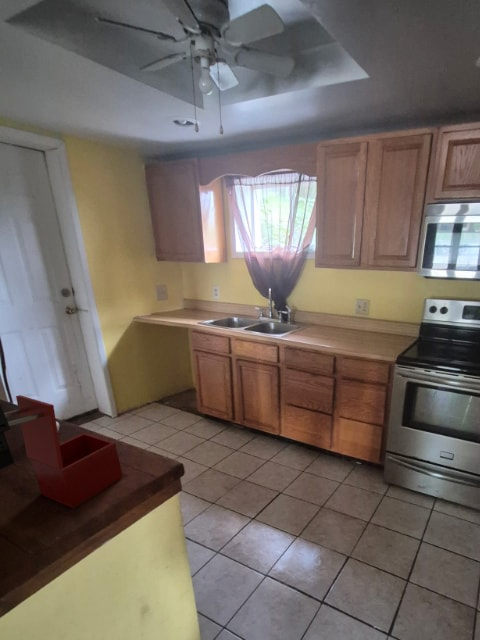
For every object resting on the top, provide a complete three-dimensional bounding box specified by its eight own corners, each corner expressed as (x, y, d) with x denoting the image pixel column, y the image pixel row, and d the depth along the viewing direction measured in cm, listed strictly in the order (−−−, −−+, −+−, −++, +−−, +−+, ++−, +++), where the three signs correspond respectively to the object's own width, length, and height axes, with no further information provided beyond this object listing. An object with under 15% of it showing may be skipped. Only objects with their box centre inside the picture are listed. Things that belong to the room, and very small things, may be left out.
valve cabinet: (93, 467, 91) (84, 432, 87) (123, 478, 87) (115, 442, 83) (42, 496, 81) (29, 458, 77) (73, 510, 77) (61, 470, 73)
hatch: (20, 395, 73) (-41, 408, 64) (53, 404, 69) (-7, 420, 60) (31, 455, 77) (-25, 475, 68) (63, 468, 73) (7, 491, 64)
